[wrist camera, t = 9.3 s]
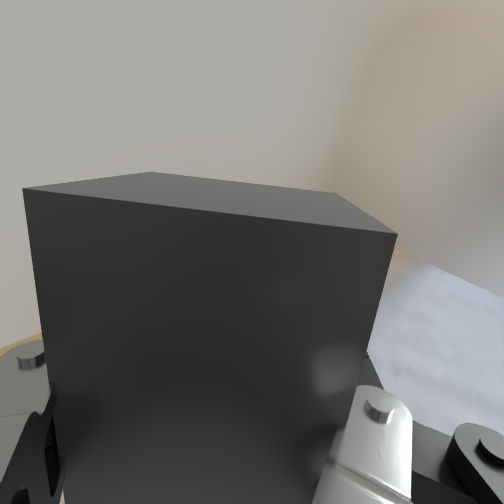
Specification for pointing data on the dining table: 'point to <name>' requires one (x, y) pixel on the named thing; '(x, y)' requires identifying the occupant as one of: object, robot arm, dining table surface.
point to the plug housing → (201, 333)
